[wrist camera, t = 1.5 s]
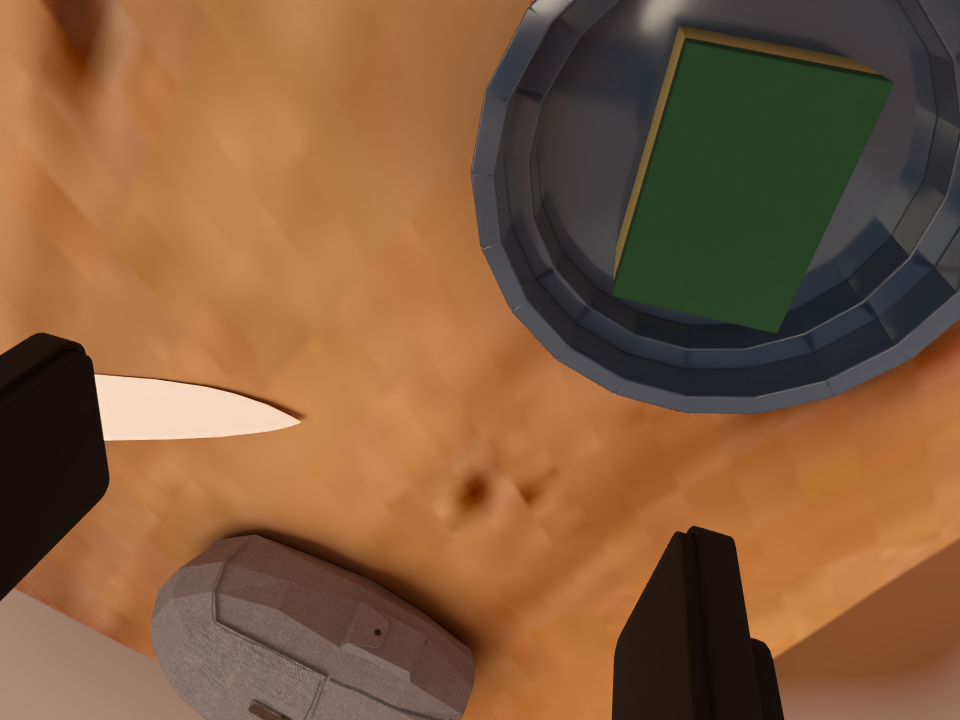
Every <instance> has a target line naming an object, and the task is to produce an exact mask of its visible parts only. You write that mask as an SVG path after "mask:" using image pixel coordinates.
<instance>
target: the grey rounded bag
mask: <svg viewBox="0 0 960 720" xmlns="http://www.w3.org/2000/svg"><path fill="white" fill-rule="evenodd" d="M151 624H152V644H153V650H154V652H155V654H156V656H157V658H158V660H159V662H160V665H161V667H162V669H163V671H164V673H165V675H166V677H167V679H168V681H169V683H170V684H171V686H172V687H173V688H174V690H175V691H176V692H177V694H178V695H179V696H180V697H181V698H182V699H183V700H184V701H185V702H187V703H188V704H189V705H190V706H191V707H192V708H193V709H195V710H196V711H197V712H198V713H199V714H200V715H202V716H203V717H204V718H205V719H206V720H461V718H462V716H463V714H464V711H465V708H466V705H467V702H468V699H469V696H470V694H471V691H472V688H473V680H474V669H475V661H474V658H473V655H472V652H471V649H469V648H468V647H467V646H466V645H464V644H463V643H462V642H460V641H459V640H458V639H457V638H455V637H454V636H453V635H451V634H450V633H449V632H448V631H446V630H445V629H444V628H442V627H441V626H440V625H439V624H437V623H436V622H435V621H434V620H432V619H431V618H430V617H428V616H427V615H426V614H425V613H423V612H422V611H420V610H418V609H417V608H415V607H414V606H412V605H410V604H409V603H407V602H406V601H404V600H402V599H401V598H399V597H398V596H396V595H394V594H393V593H391V592H390V591H388V590H386V589H385V588H383V587H382V586H380V585H378V584H377V583H375V582H374V581H372V580H370V579H368V578H366V577H363V576H361V575H358V574H356V573H354V572H351V571H349V570H346V569H344V568H342V567H339V566H337V565H334V564H332V563H329V562H327V561H325V560H322V559H320V558H317V557H315V556H313V555H310V554H307V553H305V552H302V551H299V550H296V549H294V548H291V547H288V546H285V545H283V544H280V543H277V542H274V541H272V540H269V539H266V538H263V537H261V536H258V535H248V536H241V537H234V538H227V539H220V540H217V541H216V542H215V543H214V544H213V545H212V546H211V547H210V548H209V549H208V550H207V551H205V552H204V553H202V554H201V555H199V556H198V557H196V558H195V559H193V560H191V561H190V562H188V563H187V564H185V565H184V566H182V567H181V568H179V569H178V570H177V571H176V572H175V573H174V575H173V576H172V577H171V578H170V579H169V580H168V581H167V582H166V583H165V584H164V585H163V586H162V587H161V588H160V589H159V590H158V594H157V598H156V603H155V607H154V611H153V615H152V620H151Z"/></svg>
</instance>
